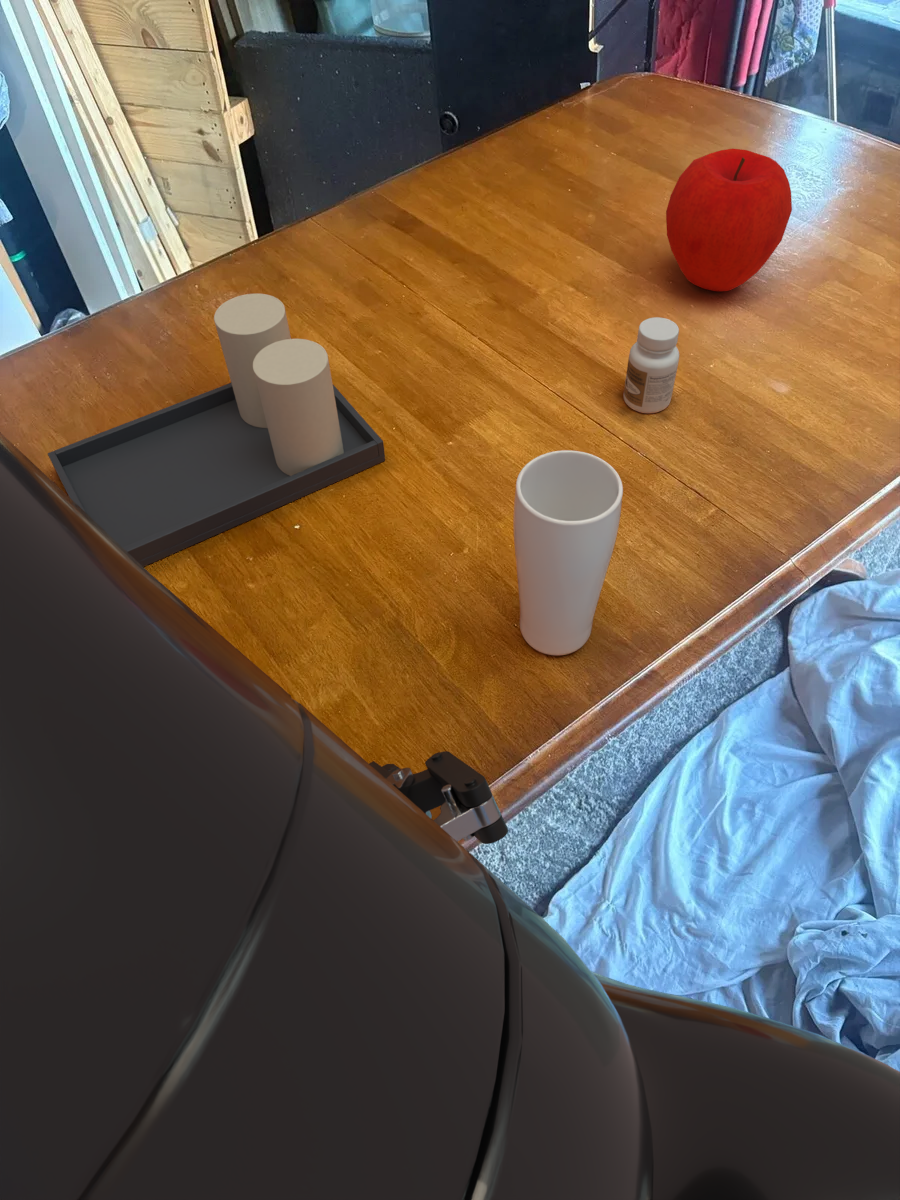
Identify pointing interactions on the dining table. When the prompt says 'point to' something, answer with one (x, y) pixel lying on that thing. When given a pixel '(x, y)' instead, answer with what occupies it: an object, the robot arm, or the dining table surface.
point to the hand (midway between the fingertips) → (296, 825)
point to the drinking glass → (563, 545)
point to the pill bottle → (652, 366)
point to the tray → (195, 472)
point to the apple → (727, 217)
